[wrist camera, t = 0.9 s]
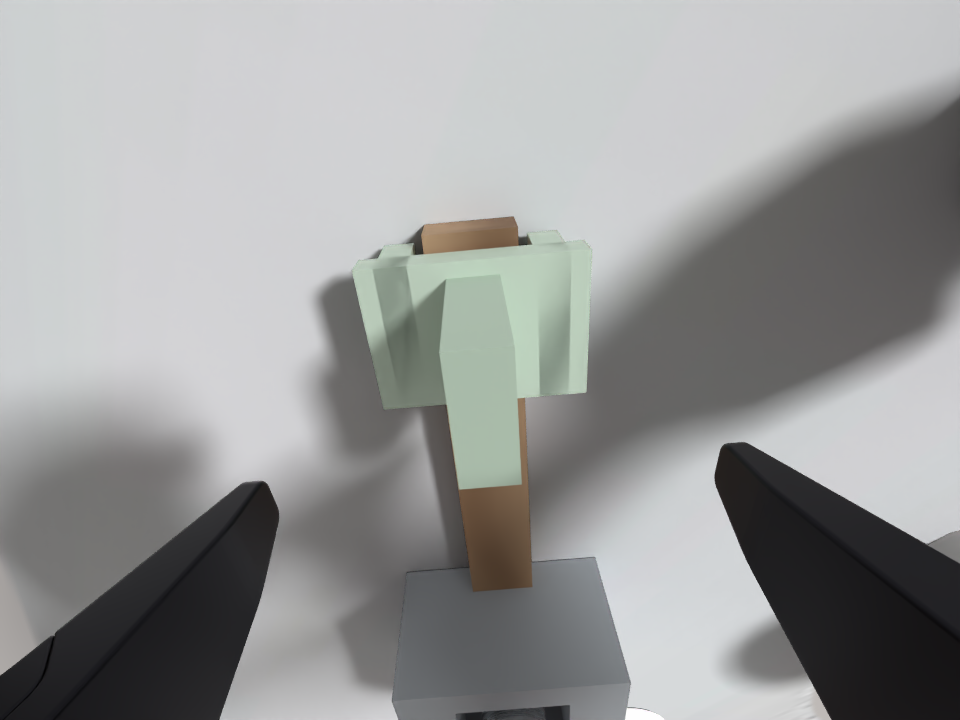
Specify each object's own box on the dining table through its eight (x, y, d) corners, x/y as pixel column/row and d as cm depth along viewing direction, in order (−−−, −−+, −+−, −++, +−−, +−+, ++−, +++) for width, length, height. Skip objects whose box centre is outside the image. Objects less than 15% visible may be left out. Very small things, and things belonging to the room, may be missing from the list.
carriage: (574, 228, 15) (645, 313, 9) (572, 357, 18) (626, 489, 12) (366, 247, 16) (306, 343, 10) (392, 373, 18) (358, 512, 12)
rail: (513, 216, 15) (517, 226, 14) (528, 562, 24) (532, 587, 23) (424, 224, 16) (421, 235, 14) (472, 567, 24) (473, 591, 23)
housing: (595, 557, 24) (630, 682, 19) (590, 632, 28) (619, 755, 23) (401, 573, 25) (384, 701, 19) (420, 645, 28) (411, 771, 23)
